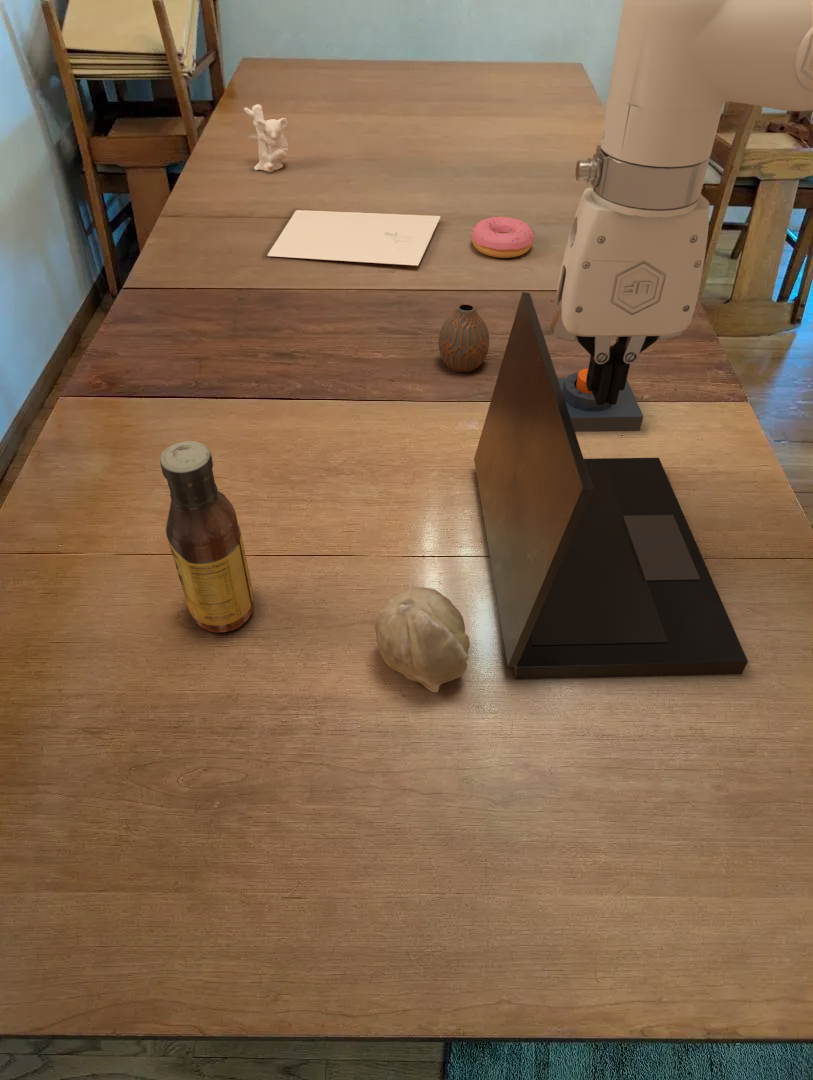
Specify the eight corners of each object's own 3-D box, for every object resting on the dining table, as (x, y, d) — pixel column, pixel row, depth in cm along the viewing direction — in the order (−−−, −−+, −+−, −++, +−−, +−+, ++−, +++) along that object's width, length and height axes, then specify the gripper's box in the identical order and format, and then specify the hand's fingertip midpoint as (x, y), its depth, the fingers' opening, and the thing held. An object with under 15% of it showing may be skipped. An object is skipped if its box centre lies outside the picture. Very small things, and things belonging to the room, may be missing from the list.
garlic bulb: (458, 706, 73) (489, 670, 64) (366, 702, 71) (385, 666, 63) (453, 611, 77) (481, 566, 69) (367, 606, 76) (385, 559, 67)
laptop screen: (530, 293, 78) (522, 291, 78) (595, 489, 57) (583, 487, 56) (481, 459, 92) (473, 459, 92) (517, 667, 71) (507, 666, 71)
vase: (462, 347, 114) (465, 289, 108) (497, 366, 111) (503, 308, 105) (427, 363, 111) (429, 305, 105) (462, 384, 107) (466, 325, 101)
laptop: (655, 469, 94) (659, 456, 93) (742, 673, 73) (748, 661, 71) (480, 471, 94) (481, 459, 92) (515, 679, 72) (517, 666, 71)
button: (601, 379, 102) (603, 367, 101) (607, 395, 99) (610, 383, 98) (573, 379, 102) (575, 368, 101) (579, 395, 99) (581, 383, 98)
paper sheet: (413, 276, 130) (413, 270, 129) (252, 258, 136) (251, 252, 135) (449, 221, 146) (449, 215, 145) (303, 207, 152) (302, 201, 152)
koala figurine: (246, 172, 164) (238, 109, 155) (256, 161, 169) (249, 99, 160) (285, 176, 163) (280, 112, 154) (295, 164, 168) (290, 102, 159)
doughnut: (488, 266, 134) (491, 241, 131) (459, 240, 141) (460, 217, 138) (544, 255, 137) (547, 231, 134) (512, 231, 144) (515, 208, 141)
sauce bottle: (205, 584, 80) (167, 422, 66) (264, 594, 79) (238, 432, 65) (179, 633, 75) (132, 470, 62) (241, 644, 74) (207, 481, 61)
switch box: (623, 391, 106) (629, 365, 104) (639, 431, 100) (646, 404, 97) (534, 392, 106) (538, 366, 103) (545, 432, 100) (549, 405, 97)
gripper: (553, 198, 53) (523, 422, 66) (771, 196, 54) (700, 419, 67) (535, 159, 59) (511, 374, 71) (734, 158, 59) (675, 371, 72)
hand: (602, 395), depth 69 cm, fingers closed
